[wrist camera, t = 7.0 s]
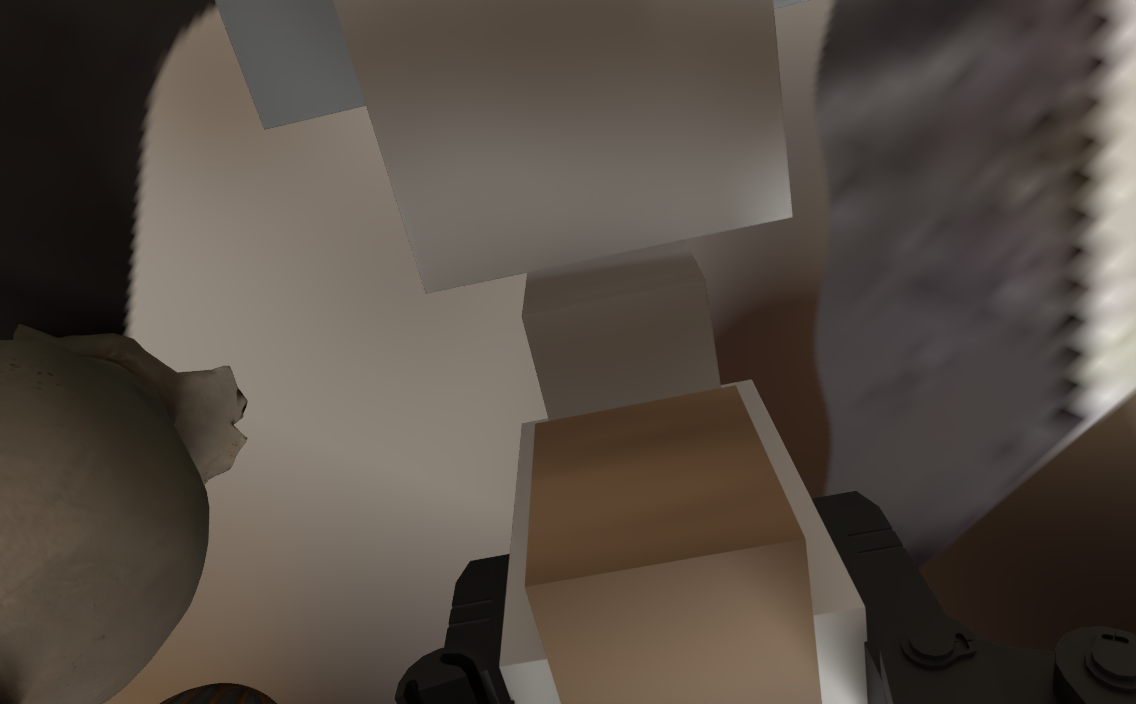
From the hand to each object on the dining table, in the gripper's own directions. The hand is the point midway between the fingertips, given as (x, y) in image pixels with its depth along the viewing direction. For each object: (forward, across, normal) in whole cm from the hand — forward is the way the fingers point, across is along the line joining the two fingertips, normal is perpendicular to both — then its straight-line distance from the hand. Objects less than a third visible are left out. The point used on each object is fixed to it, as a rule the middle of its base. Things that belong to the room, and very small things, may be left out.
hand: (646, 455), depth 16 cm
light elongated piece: (0, 0, -2) cm, 2 cm away
